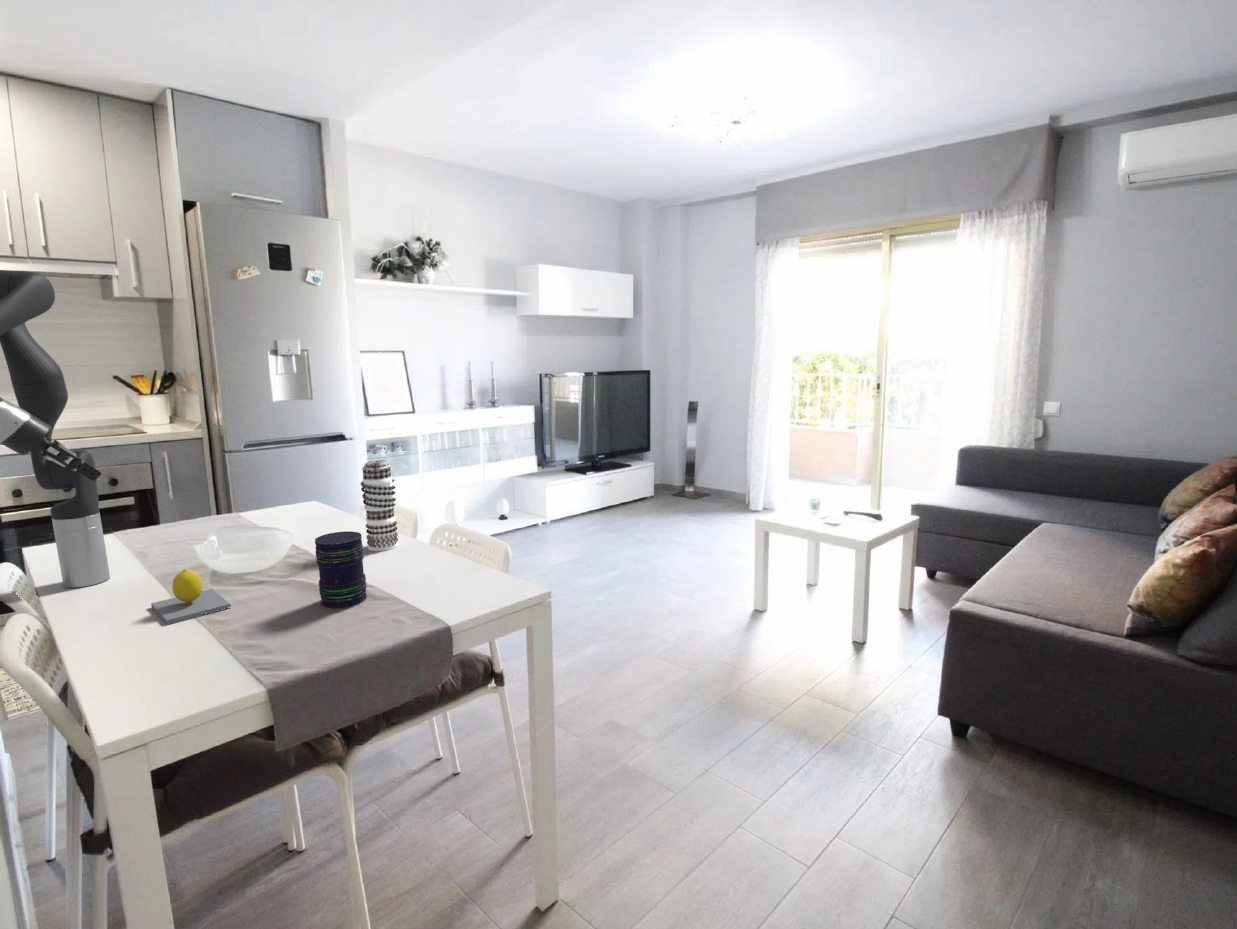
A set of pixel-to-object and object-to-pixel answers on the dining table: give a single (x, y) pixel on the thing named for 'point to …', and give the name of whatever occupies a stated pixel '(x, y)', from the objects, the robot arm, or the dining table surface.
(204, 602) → the mat
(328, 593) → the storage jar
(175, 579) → the lemon
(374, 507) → the decorative candle
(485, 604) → the dining table surface
